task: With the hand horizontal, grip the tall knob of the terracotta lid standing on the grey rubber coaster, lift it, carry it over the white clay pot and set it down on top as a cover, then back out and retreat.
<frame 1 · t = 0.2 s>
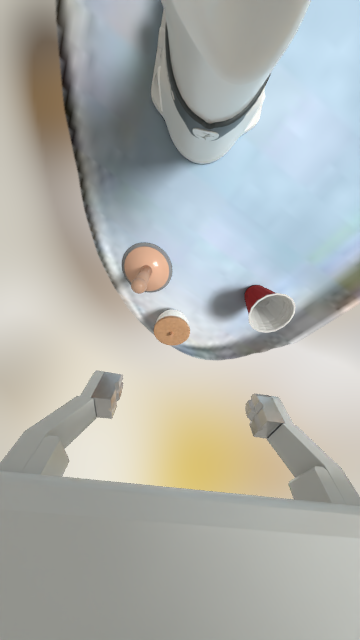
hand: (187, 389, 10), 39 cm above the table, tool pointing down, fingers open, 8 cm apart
coaster: (147, 269, 45), on the table
lid: (147, 269, 44), resting on coaster
lidded jar: (172, 317, 54), on the table
plastic cup: (253, 292, 49), on the table
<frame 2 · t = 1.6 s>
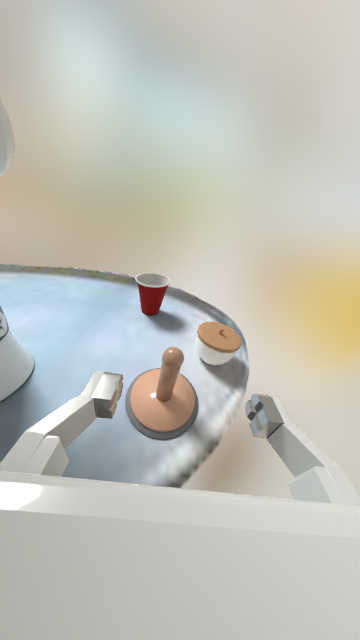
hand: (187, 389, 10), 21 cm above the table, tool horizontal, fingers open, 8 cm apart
coaster: (162, 397, 31), on the table
lid: (163, 396, 31), resting on coaster
lidded jar: (210, 357, 43), on the table
plastic cup: (149, 311, 56), on the table
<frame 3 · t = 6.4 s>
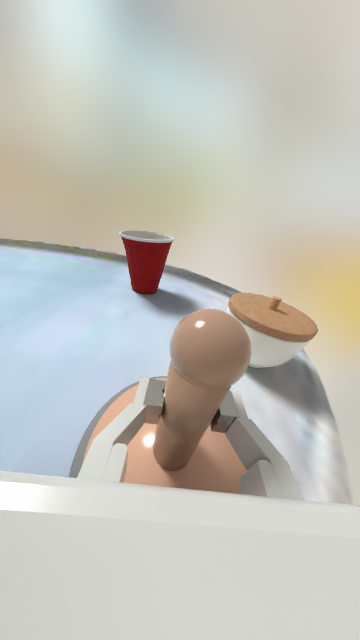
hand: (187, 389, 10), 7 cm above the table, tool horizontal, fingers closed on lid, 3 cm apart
coaster: (170, 451, 13), on the table
lid: (171, 449, 13), resting on coaster, touching gripper
lidded jar: (246, 353, 25), on the table
plastic cup: (143, 289, 38), on the table
when the fingers open (17 cm above the table, at t = 10.7 s): lid stays where it is, resting on lidded jar.
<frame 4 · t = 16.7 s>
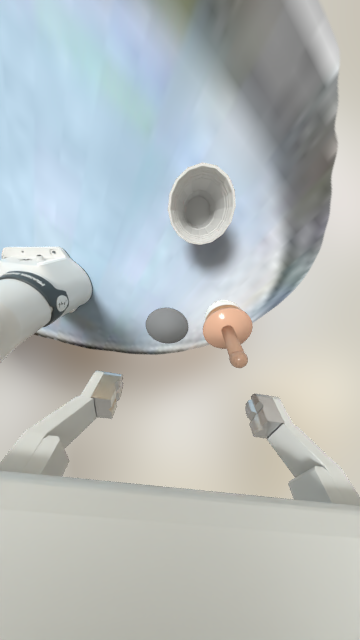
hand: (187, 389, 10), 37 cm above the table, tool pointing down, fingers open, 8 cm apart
coaster: (166, 326, 52), on the table
lid: (226, 328, 41), point 9 cm above the table, touching lidded jar
lidded jar: (220, 310, 49), on the table, touching lid
plastic cup: (196, 211, 36), on the table
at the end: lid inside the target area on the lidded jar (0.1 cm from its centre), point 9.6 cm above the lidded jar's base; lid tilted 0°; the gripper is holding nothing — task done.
